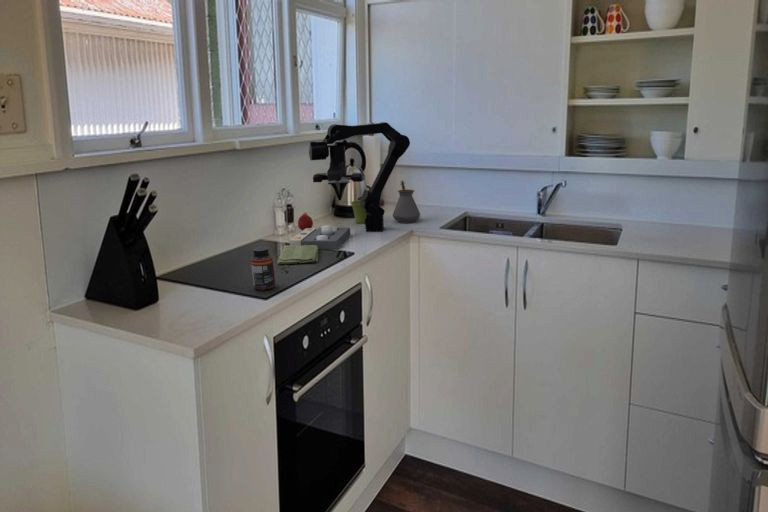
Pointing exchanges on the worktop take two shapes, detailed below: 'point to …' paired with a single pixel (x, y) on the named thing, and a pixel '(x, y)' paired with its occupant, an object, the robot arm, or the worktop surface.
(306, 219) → the onion
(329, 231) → the button
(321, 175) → the robot arm
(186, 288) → the worktop surface
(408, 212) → the coffee pot
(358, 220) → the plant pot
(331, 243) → the board
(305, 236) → the tile
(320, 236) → the button
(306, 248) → the washcloth
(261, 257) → the supplement bottle
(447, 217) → the worktop surface
